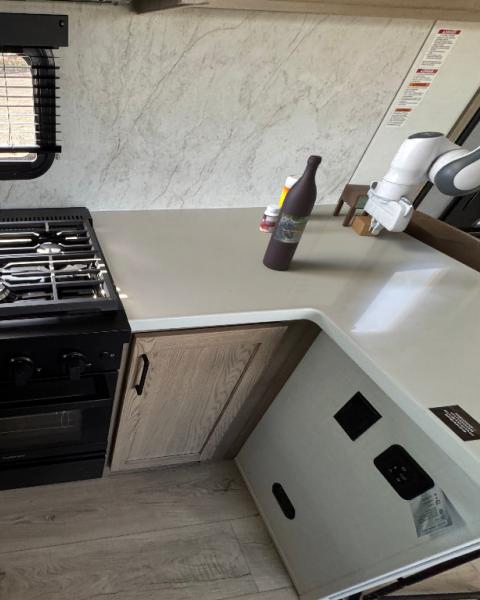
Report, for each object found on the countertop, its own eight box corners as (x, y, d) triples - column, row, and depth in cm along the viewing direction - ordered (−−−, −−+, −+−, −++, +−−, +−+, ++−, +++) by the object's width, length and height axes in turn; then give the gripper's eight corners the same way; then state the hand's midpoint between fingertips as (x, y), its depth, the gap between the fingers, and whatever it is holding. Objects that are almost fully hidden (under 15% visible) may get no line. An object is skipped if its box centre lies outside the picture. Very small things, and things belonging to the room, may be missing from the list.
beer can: (285, 222, 124) (300, 180, 115) (270, 216, 128) (284, 175, 120) (295, 219, 126) (311, 177, 118) (280, 213, 131) (295, 173, 122)
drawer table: (379, 230, 118) (397, 197, 112) (344, 227, 120) (359, 194, 114) (365, 216, 127) (381, 185, 121) (332, 214, 130) (346, 183, 123)
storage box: (376, 236, 114) (382, 225, 112) (359, 235, 115) (365, 224, 113) (366, 226, 120) (371, 216, 118) (350, 225, 121) (355, 214, 119)
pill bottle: (260, 225, 122) (267, 202, 117) (275, 228, 120) (283, 205, 115) (258, 230, 119) (265, 207, 114) (273, 233, 117) (281, 210, 112)
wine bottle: (259, 266, 100) (297, 157, 82) (265, 256, 104) (302, 151, 87) (286, 273, 96) (331, 162, 79) (290, 263, 101) (334, 155, 83)
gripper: (427, 204, 95) (400, 248, 104) (391, 181, 112) (369, 221, 120) (402, 202, 97) (376, 246, 105) (369, 179, 113) (349, 219, 121)
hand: (372, 232), depth 112 cm, fingers closed
